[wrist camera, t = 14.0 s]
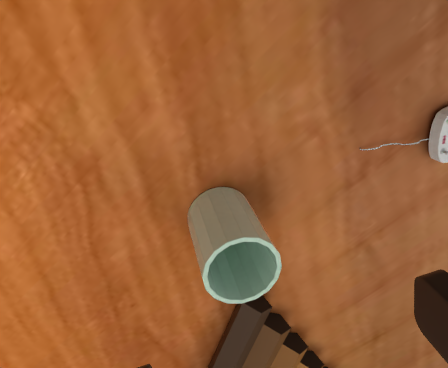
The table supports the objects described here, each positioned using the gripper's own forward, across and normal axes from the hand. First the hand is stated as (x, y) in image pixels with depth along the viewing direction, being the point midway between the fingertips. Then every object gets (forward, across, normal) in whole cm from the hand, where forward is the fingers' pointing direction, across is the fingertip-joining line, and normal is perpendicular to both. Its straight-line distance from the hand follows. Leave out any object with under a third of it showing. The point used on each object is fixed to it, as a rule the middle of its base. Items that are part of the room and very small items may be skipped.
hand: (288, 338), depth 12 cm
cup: (+26, 0, +11) cm, 28 cm away
